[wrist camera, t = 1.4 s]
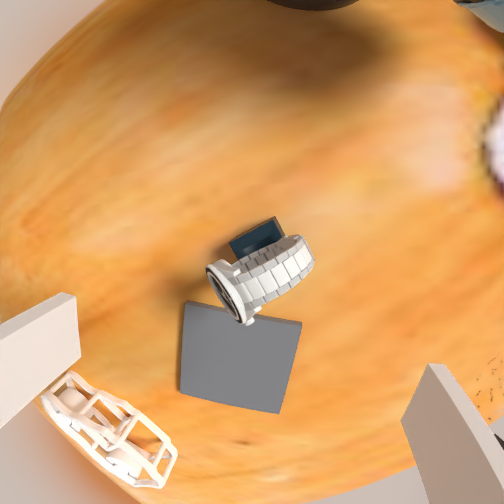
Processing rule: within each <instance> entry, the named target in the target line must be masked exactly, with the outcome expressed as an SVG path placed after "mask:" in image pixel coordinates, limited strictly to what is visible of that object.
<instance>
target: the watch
mask: <svg viewBox="0 0 504 504" xmlns="http://www.w3.org/2000/svg"><path fill="white" fill-rule="evenodd" d="M229 244H230V246H231V248H232V249H233V251H234V253H235V255H236V257H237V258H238V260H239V261H236V262H235V263H233V264H229V263H228V262H227V261H225V260H223V259H221V260H217V261H216V262H214V263H212V264H211V265H210V264H209V265H207V266H206V267H205V269H206V274H207V276H208V279H209V281H210V283H211V285H212V287H213V289H214V291H215V293H216V294H217V296H218V298H219V299H220V301H221V302H222V304H223V305H224V307H225V308H226V309H227V311H228V312H229V313H230V314H231V316H232V317H233V318H234V319H235V320H236V321H237V322H239V323H240V324H245V325H246V326H248V325H251V324H252V323H253V322H254V321H255V320H254V319H253V316H254V315H255V314H256V313H257V312H259V311H260V310H261V309H262V308H261V307H260V306H261V305H263V304H265V303H268V302H270V301H271V300H273V299H275V298H277V297H278V295H279V296H280V295H282V294H284V293H285V292H287V291H288V290H289V289H291V288H293V287H294V286H295V285H296V284H298V283H299V282H300V281H301V280H302V279H303V278H304V277H305V276H306V275H307V274H308V273H309V272H310V271H311V269H312V268H313V266H314V262H315V259H314V257H313V255H312V252H311V250H310V248H309V246H308V245H307V243H306V241H305V239H304V238H303V236H302V235H291V236H288V235H286V236H285V234H284V232H283V230H282V228H281V226H280V225H279V223H278V221H277V219H276V217H275V216H274V217H272V218H270V219H269V220H267V221H265V222H263V223H261V224H259V225H257V226H255V227H253V228H252V229H250V230H248V231H246V232H244V233H242V234H240V235H239V236H237V237H235V238H234V239H233V240H232V241H231V242H229ZM276 291H277V292H276ZM277 293H278V294H277Z"/></svg>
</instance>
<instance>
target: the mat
mask: <svg viewBox="0 0 504 504" xmlns="http://www.w3.org/2000/svg"><path fill="white" fill-rule="evenodd" d="M253 319H254V320H255V321H254V322H253V323H252V324H251V325H248V326H246V325H245V324H240V323H239V322H237V321H236V320H235V319H234V318H233V317H232V316H231V314H230V313H229V312H228V311H227V309H226V308H222V307H217V306H212V305H207V304H203V303H198V302H193V301H189V300H188V301H187V302H186V303H185V310H184V324H183V339H182V356H181V376H180V393H182V394H185V395H189V396H193V397H197V398H201V399H205V400H209V401H213V402H218V403H222V404H227V405H231V406H236V407H241V408H246V409H252V410H257V411H263V412H269V413H275V414H279V413H280V409H281V406H282V402H283V399H284V395H285V391H286V388H287V384H288V380H289V376H290V373H291V369H292V365H293V361H294V357H295V353H296V349H297V345H298V341H299V337H300V333H301V329H302V322H298V321H292V320H286V319H280V318H274V317H269V316H263V315H258V314H255V315H254V316H253Z"/></svg>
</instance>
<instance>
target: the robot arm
mask: <svg viewBox="0 0 504 504" xmlns="http://www.w3.org/2000/svg"><path fill="white" fill-rule="evenodd" d="M268 1H271V2H273V3H276V4H279V5H282V6H285V7H289V8H294V9H301V10H316V11H318V10H331V9H337V8H341V7H345V6H348V5H350V4H353V3H355V2H356V1H358V0H268ZM453 1H454V2H455V3H456V4H457V5H459V6H461V7H465V8H466V9H467V10H469V11H470V12H472V13H473V14H474V15H476V16H477V17H478V18H479V19H481V20H482V21H483V22H485V23H486V24H487V25H488V26H490V27H491V28H493V29H495V30H497V31H499V32H502V33H504V0H453ZM79 358H81V349H80V341H79V331H78V320H77V306H76V296H73V295H70V294H67V293H64V292H61V293H59V294H57V295H55V296H53V297H51V298H49V299H47V300H45V301H43V302H41V303H39V304H37V305H35V306H34V307H32V308H30V309H28V310H26V311H24V312H22V313H20V314H19V315H17V316H15V317H13V318H11V319H9V320H7V321H6V322H4V323H2V324H0V428H1V427H3V426H4V425H5V424H6V423H7V422H8V421H9V420H10V419H11V418H12V417H14V416H15V415H16V414H17V413H18V412H19V411H20V410H21V409H22V408H24V406H26V405H27V404H28V403H29V402H30V401H31V400H32V399H34V398H35V397H36V396H37V395H38V394H39V393H40V392H42V391H43V390H44V389H45V388H46V387H47V386H48V385H49V384H51V383H52V382H53V381H54V380H55V379H56V378H57V377H59V376H60V375H61V374H62V373H63V372H64V371H66V370H67V369H68V368H69V367H70V366H71V365H72V364H74V363H75V362H76V361H77V360H78V359H79ZM401 423H402V426H403V428H404V431H405V433H406V436H407V439H408V441H409V444H410V447H411V450H412V452H413V455H414V458H415V461H416V464H417V466H418V469H419V472H420V475H421V478H422V481H423V484H424V487H425V490H426V493H427V496H428V500H429V503H430V504H504V441H503V440H502V439H500V438H499V437H498V436H497V435H496V434H493V433H492V431H491V430H490V428H489V427H488V425H487V424H486V422H485V421H484V419H483V418H482V416H481V415H480V413H479V412H478V410H477V409H476V407H475V406H474V404H473V403H472V402H471V400H470V399H469V397H468V396H467V394H466V393H465V392H464V390H463V389H462V387H461V386H460V385H459V383H458V382H457V380H456V379H455V378H454V376H453V375H452V374H451V372H450V371H449V370H448V368H447V367H446V366H445V364H433V363H428V364H427V367H426V369H425V371H424V373H423V376H422V378H421V380H420V382H419V385H418V387H417V389H416V391H415V393H414V395H413V397H412V399H411V401H410V403H409V405H408V407H407V409H406V411H405V413H404V415H403V417H402V419H401Z"/></svg>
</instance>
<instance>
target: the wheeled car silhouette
mask: <svg viewBox="0 0 504 504" xmlns="http://www.w3.org/2000/svg"><path fill="white" fill-rule="evenodd" d="M72 379H74V380H75V381H76V382H77V383H78V384H79V385H80V386H81V387H82V388H83V389H84V390H85V391H87V392H88V393H90V394H92V395H93V396H92V398H91V399H90V400H89V401H88V400H87V399H86V397H84V396H83V395H82V394H81V393H80V392H78V391H77V389H76V388H75V386H74V384H73V382H72ZM65 382H66V384H67V387H68V389H65V390H64V391H63V392H62V393H61V394H60V395H59V396H58V397H56V396H54V395H53V393H54V392H55V391H57V390H58V389H59V388H60V387H61V386H62V385H63V384H64V383H65ZM98 399H99V400H100V401H101V402H102V403H103V404H104V405H105V406H106V407H107V408H108V409H109V410H110V411H111V412H112V413H114V414H115V415H116V416H117V417H118V418H119V419H120V420H121V423H120V424H119V425H118V427H117V428H116V429H115V428H114V427H113V426H112V424H111V423H110V422H109V421H108V420H107V419H106V418H105V417H104V416H103V415H102V414H101V413H100V412H99V411H98V410H97V409H96V408H94V407H93V406H92V405H93V404H94V403H95V402H96V401H97V400H98ZM41 400H42V403H43V406H44V408H45V410H46V411H47V413H48V414H49V416H50V417H51V418H52V419H53V421H54V422H55V423H56V424H57V425H58V426H59V427H60V428H61V429H62V430H63V431H64V432H65V433H66V434H68V435H69V436H70V437H72V438H73V439H74V440H75V441H76V442H77V443H78V444H80V445H81V446H82V447H83V449H84V450H85V451H86V452H87V453H88V454H89V455H90V456H91V457H92V458H93V459H94V460H96V461H97V462H98V463H99V464H100V465H101V466H103V467H104V468H105V469H106V470H108V471H109V472H110V473H112V474H114V475H115V476H117V477H119V478H120V479H122V480H123V481H125V482H126V483H128V484H130V485H132V486H133V487H137V488H138V487H154V488H158V489H162V487H163V486H164V485H165V483H166V481H167V478H168V476H169V474H170V472H171V469H172V467H173V465H174V463H175V460H176V458H177V456H178V454H177V450H176V448H175V447H174V446H173V445H172V444H171V443H170V442H171V440H170V438H169V437H168V436H167V435H166V434H165V433H164V432H163V431H162V430H161V429H159V428H158V427H157V426H156V425H155V424H154V423H153V422H152V421H151V420H150V419H148V418H147V417H146V416H145V415H144V414H142V413H141V412H140V411H139V410H137V409H135V408H133V407H132V406H131V405H130V404H129V403H128V402H127V401H125V400H122V399H119V398H116V397H114V396H113V395H111V394H109V393H107V392H105V391H103V390H100V389H96V388H93V387H92V386H90V385H89V384H88V383H87V382H85V381H84V379H83V378H82V377H81V376H79V375H78V374H77V373H76V372H74V371H68V372H67V373H66V374H65V376H63V377H62V378H61V379H60V380H59V381H58V382H57V383H56V384H54V385H53V386H52V387H51V388H50V389H49V390H48V391H46V392H45V393H44V394H43V395H42V396H41ZM50 402H51V404H50ZM115 405H117V406H121V407H122V408H124V409H125V410H126V411H127V412H128V413H129V414H131V416H130V417H127V416H126V415H124V414H123V413H122V412H121V411H120V410H119V409H118V408H117V407H116V406H115ZM93 415H94V416H95V417H96V418H97V419H98V420H99V421H100V422H101V423H102V424H103V425H104V426H102V425H99V424H97V423H95V422H93V421H92V420H90V418H91V417H92V416H93ZM138 420H140V421H141V422H142V423H143V424H144V425H146V426H147V427H148V428H149V429H150V430H151V431H152V432H153V433H155V434H156V435H157V436H158V437H159V438H160V439H161V441H162V444H161V446H160V448H159V450H158V452H155V453H153V454H150V453H148V452H146V451H145V450H143V449H141V448H140V447H138V446H137V445H135V444H134V443H132V442H130V441H129V440H127V439H126V437H127V436H128V434H129V433H130V431H131V430H132V428H133V427H134V425H135V424H136V422H137V421H138ZM126 424H128V425H127V426H126V428H125V429H124V431H123V432H122V434H121V431H122V430H123V428H124V427H125V425H126ZM81 429H83V430H84V431H85V432H86V433H87V434H88V435H89V436H90V437H91V438H92V439H93V440H94V442H93V443H92V445H91V446H90V445H89V443H88V442H87V441H86V440H85V439H84V438H83V437H81V436H80V435H79V434H78V432H79V431H80V430H81ZM98 433H100V434H98ZM104 437H105V438H107V439H108V441H106V440H105V439H104ZM98 445H100V446H101V447H102V448H103V449H105V450H106V451H109V453H108V454H107V456H106V457H105V459H104V458H103V457H102V456H101V455H99V454H98V453H97V452H96V451H95V449H96V447H97V446H98ZM166 448H167V450H168V451H169V452H164V451H165V449H166ZM160 459H170V460H169V462H168V465H167V467H166V469H165V471H164V473H163V475H162V476H161V475H160V474H159V473H158V472H157V469H156V467H157V465H158V463H159V461H160ZM148 460H153V461H152V463H150V462H149V461H148ZM143 468H145V469H146V471H147V472H148V473H149V475H150V476H151V477H152V478H153V479H154V480H151V479H141V480H137V479H138V477H139V475H140V474H141V472H142V470H143Z"/></svg>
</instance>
